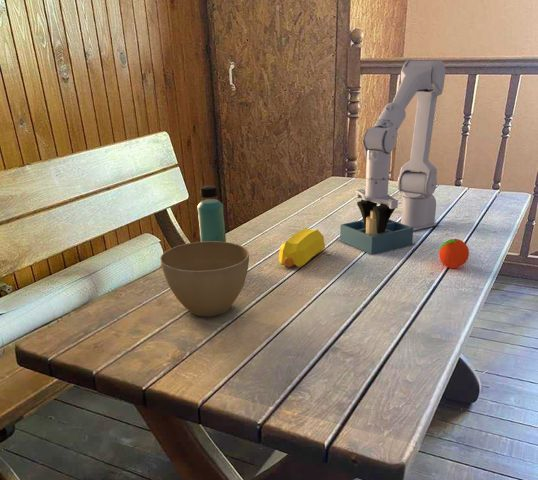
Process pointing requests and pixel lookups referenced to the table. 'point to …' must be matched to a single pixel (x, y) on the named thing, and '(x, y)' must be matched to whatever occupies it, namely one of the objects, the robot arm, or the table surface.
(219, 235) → the beverage bottle
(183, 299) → the brown bowl
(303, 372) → the table surface
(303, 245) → the yellow faceted toy car
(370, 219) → the cream bottle
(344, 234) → the carrier
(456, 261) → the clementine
